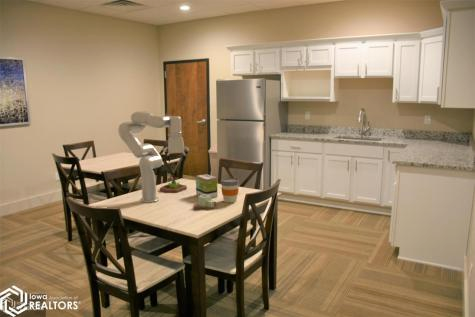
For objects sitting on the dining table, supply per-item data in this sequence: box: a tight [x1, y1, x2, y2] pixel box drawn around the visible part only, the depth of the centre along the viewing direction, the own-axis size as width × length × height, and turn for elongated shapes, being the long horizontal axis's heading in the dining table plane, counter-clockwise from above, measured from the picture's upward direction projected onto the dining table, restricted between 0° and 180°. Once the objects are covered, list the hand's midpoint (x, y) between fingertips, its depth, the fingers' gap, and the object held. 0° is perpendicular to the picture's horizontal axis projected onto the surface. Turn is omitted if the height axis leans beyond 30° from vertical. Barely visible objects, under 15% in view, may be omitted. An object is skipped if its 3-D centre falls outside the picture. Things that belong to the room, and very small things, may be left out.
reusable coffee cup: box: [220, 177, 240, 203], centre depth 263 cm, size 13×13×15 cm
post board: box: [193, 201, 217, 211], centre depth 251 cm, size 14×14×5 cm
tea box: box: [195, 173, 218, 199], centre depth 277 cm, size 15×10×15 cm, turn 37°
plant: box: [159, 176, 188, 194], centre depth 297 cm, size 20×20×11 cm
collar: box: [197, 195, 215, 207], centre depth 249 cm, size 10×6×6 cm, turn 46°
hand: (176, 161), depth 249 cm, fingers open, 9 cm apart
